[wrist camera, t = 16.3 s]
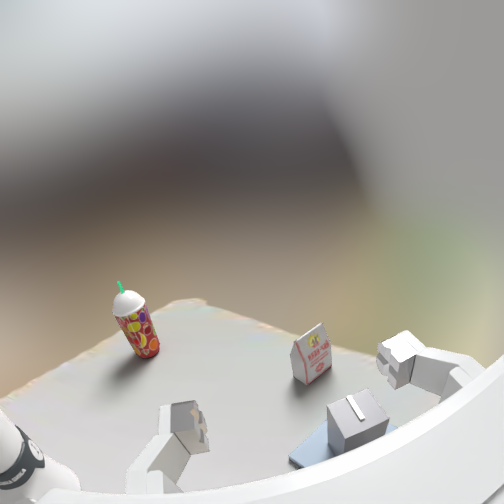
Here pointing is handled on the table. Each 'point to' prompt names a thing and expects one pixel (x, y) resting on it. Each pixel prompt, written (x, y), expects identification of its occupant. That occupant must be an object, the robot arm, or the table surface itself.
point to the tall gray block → (355, 422)
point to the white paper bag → (311, 355)
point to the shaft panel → (317, 447)
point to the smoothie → (136, 322)
